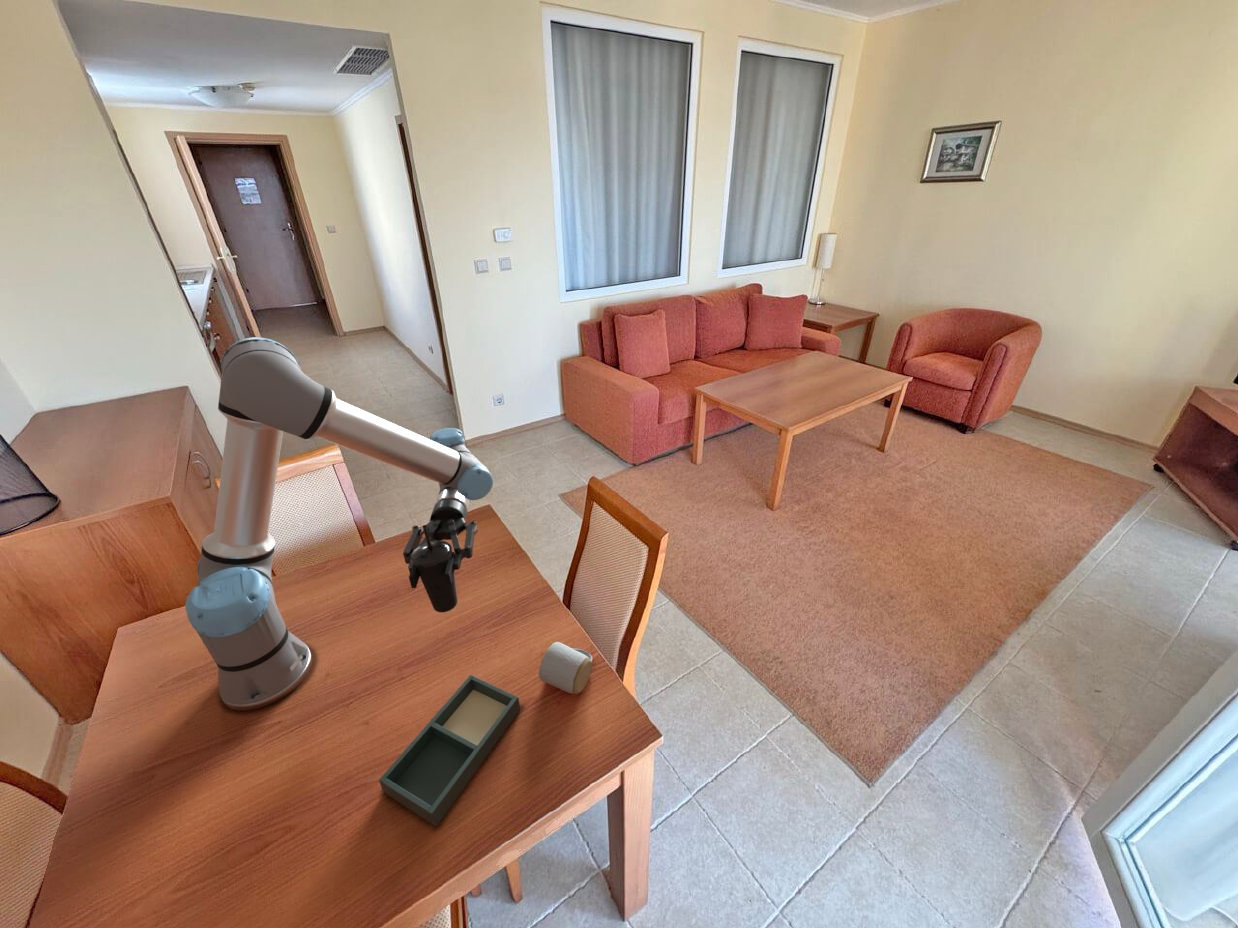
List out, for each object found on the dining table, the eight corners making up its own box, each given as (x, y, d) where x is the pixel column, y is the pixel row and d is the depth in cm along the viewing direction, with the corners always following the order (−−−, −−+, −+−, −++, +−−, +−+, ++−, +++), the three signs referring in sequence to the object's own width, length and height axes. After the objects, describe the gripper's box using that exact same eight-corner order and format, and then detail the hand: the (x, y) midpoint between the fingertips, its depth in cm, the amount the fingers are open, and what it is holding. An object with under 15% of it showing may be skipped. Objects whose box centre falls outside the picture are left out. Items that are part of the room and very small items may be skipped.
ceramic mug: (576, 704, 92) (574, 676, 88) (539, 688, 95) (536, 661, 92) (602, 662, 101) (601, 635, 97) (567, 648, 104) (565, 622, 100)
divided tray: (383, 792, 79) (378, 780, 77) (473, 686, 96) (470, 674, 94) (436, 826, 75) (431, 813, 73) (520, 709, 92) (518, 696, 90)
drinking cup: (426, 595, 105) (403, 519, 95) (463, 587, 107) (445, 511, 97) (425, 621, 99) (401, 542, 89) (465, 612, 101) (445, 533, 91)
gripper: (494, 521, 116) (484, 590, 96) (411, 528, 114) (383, 600, 94) (490, 494, 113) (478, 560, 92) (404, 501, 111) (373, 570, 90)
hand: (430, 580), depth 93 cm, fingers closed on drinking cup, 6 cm apart
